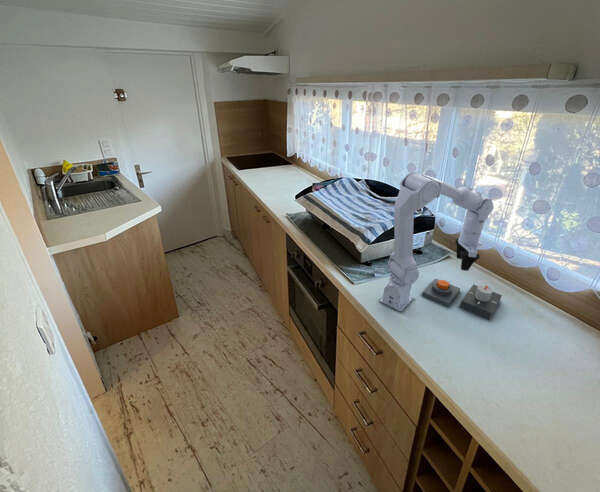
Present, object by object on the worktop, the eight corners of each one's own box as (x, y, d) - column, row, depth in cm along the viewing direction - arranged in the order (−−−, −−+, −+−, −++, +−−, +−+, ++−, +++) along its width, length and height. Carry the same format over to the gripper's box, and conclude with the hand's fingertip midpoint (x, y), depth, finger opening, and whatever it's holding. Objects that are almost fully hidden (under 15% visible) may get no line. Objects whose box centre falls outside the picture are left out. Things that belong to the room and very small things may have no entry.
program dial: (487, 303, 100) (490, 294, 98) (472, 297, 102) (475, 288, 100) (491, 297, 102) (494, 288, 101) (477, 291, 105) (480, 282, 103)
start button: (445, 291, 105) (446, 287, 105) (435, 287, 108) (436, 283, 107) (449, 286, 108) (450, 282, 107) (439, 282, 110) (440, 278, 109)
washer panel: (489, 320, 97) (491, 312, 96) (459, 307, 103) (461, 300, 101) (499, 301, 105) (502, 294, 103) (471, 290, 110) (473, 283, 109)
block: (447, 307, 103) (450, 299, 101) (421, 295, 108) (423, 287, 107) (459, 291, 110) (461, 284, 108) (434, 281, 115) (436, 274, 114)
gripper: (491, 241, 95) (479, 277, 101) (479, 221, 107) (469, 254, 114) (466, 239, 96) (456, 274, 103) (457, 220, 109) (449, 252, 115)
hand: (462, 264), depth 108 cm, fingers open, 7 cm apart
